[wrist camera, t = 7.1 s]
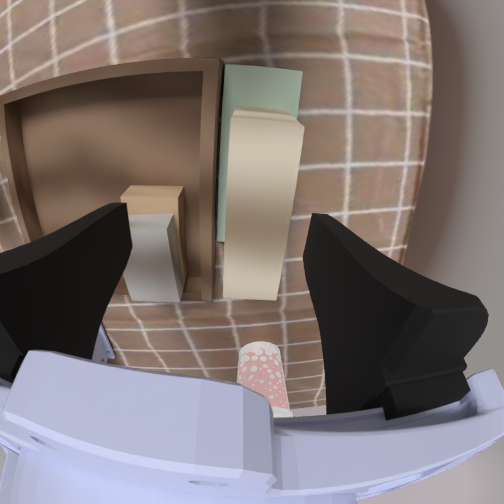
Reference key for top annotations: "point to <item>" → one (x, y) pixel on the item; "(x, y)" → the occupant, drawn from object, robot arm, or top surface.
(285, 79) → the mat
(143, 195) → the offcut lower
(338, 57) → the top surface
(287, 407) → the beverage cup
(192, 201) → the crate
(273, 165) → the cream chamfered post
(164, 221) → the offcut upper
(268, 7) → the top surface
